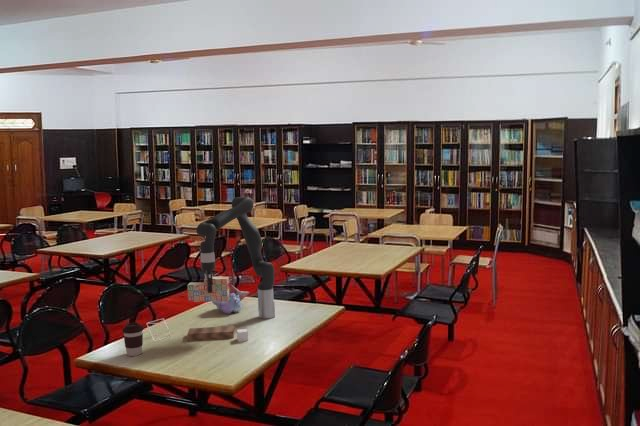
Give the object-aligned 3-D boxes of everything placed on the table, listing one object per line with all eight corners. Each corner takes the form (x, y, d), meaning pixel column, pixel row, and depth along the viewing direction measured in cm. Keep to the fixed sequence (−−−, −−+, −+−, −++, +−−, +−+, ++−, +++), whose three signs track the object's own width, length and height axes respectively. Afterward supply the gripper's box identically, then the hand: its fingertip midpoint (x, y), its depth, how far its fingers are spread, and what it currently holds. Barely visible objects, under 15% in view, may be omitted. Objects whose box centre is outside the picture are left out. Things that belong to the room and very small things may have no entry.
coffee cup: (128, 350, 290) (126, 321, 288) (147, 350, 290) (145, 321, 288) (120, 357, 280) (118, 327, 278) (140, 357, 280) (139, 327, 278)
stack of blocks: (187, 302, 305) (186, 279, 303) (190, 299, 311) (189, 276, 310) (227, 301, 304) (226, 278, 302) (230, 298, 310) (229, 276, 309)
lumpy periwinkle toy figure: (207, 308, 348) (221, 283, 347) (208, 298, 369) (222, 274, 368) (236, 323, 352) (250, 298, 351) (236, 312, 373) (250, 289, 372)
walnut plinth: (234, 333, 315) (234, 325, 315) (233, 338, 306) (233, 331, 305) (190, 335, 313) (189, 328, 313) (187, 341, 303) (187, 334, 303)
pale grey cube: (246, 338, 305) (246, 328, 304) (248, 340, 300) (247, 331, 300) (237, 339, 304) (236, 329, 303) (238, 341, 299) (238, 332, 298)
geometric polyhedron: (143, 338, 309) (142, 322, 308) (161, 333, 318) (160, 317, 317) (157, 342, 301) (156, 326, 300) (174, 337, 310) (173, 320, 309)
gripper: (216, 262, 299) (217, 293, 301) (213, 257, 313) (215, 287, 315) (201, 263, 297) (203, 294, 299) (199, 259, 311) (201, 288, 313)
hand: (209, 291), depth 307 cm, fingers closed on stack of blocks, 7 cm apart
